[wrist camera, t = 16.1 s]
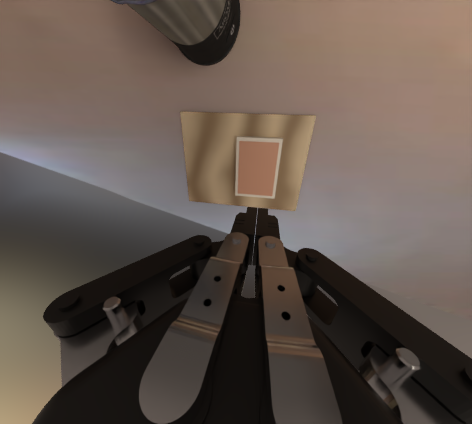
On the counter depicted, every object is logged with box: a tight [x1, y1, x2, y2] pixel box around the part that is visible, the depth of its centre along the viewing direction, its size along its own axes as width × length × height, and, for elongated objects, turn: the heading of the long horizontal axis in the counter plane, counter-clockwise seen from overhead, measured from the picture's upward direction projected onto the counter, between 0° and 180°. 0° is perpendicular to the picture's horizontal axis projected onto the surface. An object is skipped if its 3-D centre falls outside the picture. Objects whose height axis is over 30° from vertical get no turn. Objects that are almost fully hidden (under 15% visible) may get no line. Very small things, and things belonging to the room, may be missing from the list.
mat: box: [180, 112, 316, 211], centre depth 29 cm, size 20×15×1 cm
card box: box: [235, 136, 283, 199], centre depth 27 cm, size 3×9×6 cm
